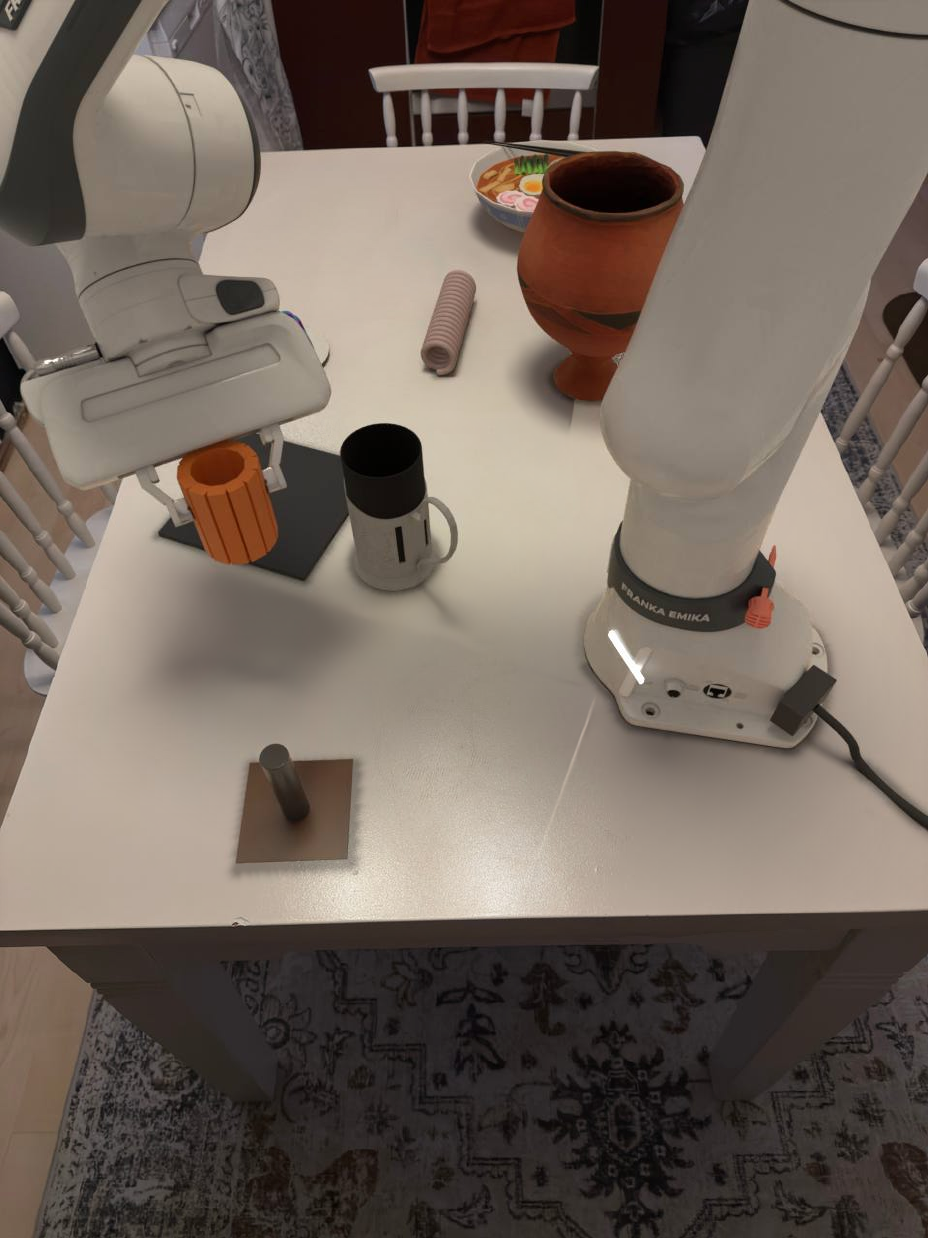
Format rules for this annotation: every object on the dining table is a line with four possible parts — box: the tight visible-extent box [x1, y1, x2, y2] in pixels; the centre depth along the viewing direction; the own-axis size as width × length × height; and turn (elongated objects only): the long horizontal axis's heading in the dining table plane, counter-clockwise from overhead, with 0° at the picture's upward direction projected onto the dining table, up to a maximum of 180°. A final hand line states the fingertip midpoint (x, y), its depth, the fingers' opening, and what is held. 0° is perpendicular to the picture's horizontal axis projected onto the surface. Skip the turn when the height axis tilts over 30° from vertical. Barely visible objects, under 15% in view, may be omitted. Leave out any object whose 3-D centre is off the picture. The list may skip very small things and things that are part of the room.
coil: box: [420, 269, 477, 376], centre depth 110 cm, size 5×5×18 cm
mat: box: [157, 433, 349, 582], centre depth 93 cm, size 18×18×1 cm
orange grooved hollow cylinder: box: [176, 440, 278, 566], centre depth 63 cm, size 6×6×8 cm
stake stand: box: [235, 743, 354, 864], centre depth 66 cm, size 9×9×10 cm
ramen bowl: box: [468, 139, 600, 234], centre depth 126 cm, size 25×23×8 cm
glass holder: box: [339, 422, 459, 592], centre depth 81 cm, size 9×14×15 cm, turn 43°
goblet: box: [516, 150, 685, 402], centre depth 95 cm, size 19×19×25 cm
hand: (232, 506), depth 63 cm, fingers closed on orange grooved hollow cylinder, 6 cm apart
